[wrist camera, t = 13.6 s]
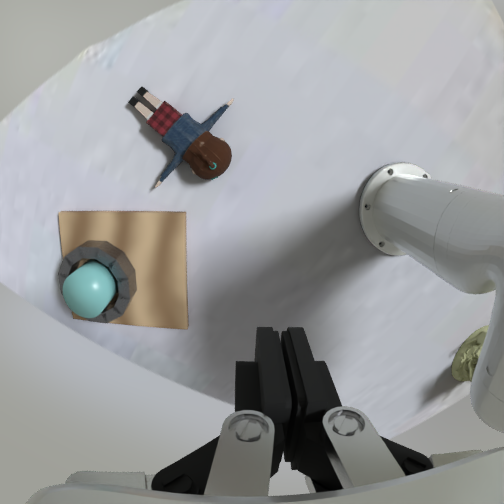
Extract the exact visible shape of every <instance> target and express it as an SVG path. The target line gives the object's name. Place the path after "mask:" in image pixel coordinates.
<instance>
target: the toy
mask: <svg viewBox="0 0 504 504" xmlns="http://www.w3.org/2000/svg"><path fill="white" fill-rule="evenodd" d="M137 92H138V93H139V94H140V95H142V96H143V97H144V98H146V99H147V100H148V101H149V102H150V103H151V104H152V105H153V106H154V107H155V108H156V109H157V110H156V111H155V112H154V113H153V112H152V111H151V110H150V109H148V108H147V107H146V106H144V105H143V104H142V103H140V101H139V100H138V99H137V98H135V97H132V98H131V99H130V101H129V102H128V103H130V104H131V105H132V106H134V107H135V108H136V109H137V110H138V111H139V112H140V113H141V114H142V115H143V116H145V117H146V118H147V120H148V121H147V122H146V123H147V124H148V125H150V126H151V127H152V128H153V129H154V130H155V131H157V132H158V133H159V134H161V135H162V136H164V137H163V138H162V142H164V143H166V144H167V145H169V146H170V147H171V148H172V149H173V151H174V152H175V153H176V154H175V156H174V158H173V160H172V161H171V163H170V164H169V165H168V167H167V168H166V169H165V171H164V172H163V173H162V174H161V176H162V177H161V179H160V180H159V181H158V182H157V184H156V186H155V187H158V186H159V185H160V184H161V183H162V182H163V180H164V179H166V177H167V176H168V175H169V174H170V173H171V172H172V171H173V170H174V169H175V168H176V167H177V166H178V165H179V164H180V163H181V162H182V161H183V160H185V161H186V162H187V163H188V164H189V165H190V167H191V168H192V173H193V174H196V175H197V176H198V177H200V178H203V179H211V180H213V179H215V178H218V176H220V175H221V174H223V173H224V172H225V170H226V169H227V168H228V167H229V165H230V162H231V157H232V154H231V149H230V147H229V145H228V144H227V143H226V142H225V140H224V139H223V138H217V137H215V136H213V135H212V134H211V133H210V132H209V131H210V129H211V128H212V126H213V125H214V124H215V123H216V121H217V120H218V119H219V118H220V117H221V115H222V114H223V113H224V112H225V111H226V109H227V108H228V107H229V106H230V105H231V104H232V102H233V100H234V99H233V98H232V99H231V100H230V101H229V102H228V103H227V104H226V105H225V106H224V107H220V108H219V109H218V110H217V111H216V112H215V113H214V114H213V115H212V116H211V117H210V118H209V119H208V120H207V121H205V122H204V123H202V124H200V123H198V122H196V121H195V120H193V119H192V118H191V117H190V115H189V114H188V113H185V114H183V115H182V114H181V113H179V112H178V111H177V110H176V109H175V108H173V107H172V106H171V105H170V104H168V103H167V102H166V101H164V102H161V101H160V100H159V99H157V98H156V97H154V96H153V95H151V94H150V93H149V92H148V91H147V90H146V89H145V88H143V87H142V86H141V88H140V89H139V90H138V91H137Z"/></svg>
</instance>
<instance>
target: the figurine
mask: <svg viewBox="0 0 504 504" xmlns="http://www.w3.org/2000/svg"><path fill="white" fill-rule="evenodd" d="M488 327H489V325H488V326H484V327H482V328H480V329H478V330H476V331H475V332H474V333H473V334H471V335H470V336H469V337H468V338H467V339H466V341H465V342H464V343H463V344H462V345H461V347H460V349H459V350H458V352H457V354H456V356H455V358H454V360H453V364H452V376H453V377H454V378H455V379H456V380H458V381H461V382H462V381H469V380H470V381H471V382H472V377H473V374H474V371H475V368H476V365H477V362H478V358H479V355H480V352H481V349H482V346H483V343H484V340H485V337H486V334H487V331H488Z"/></svg>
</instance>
